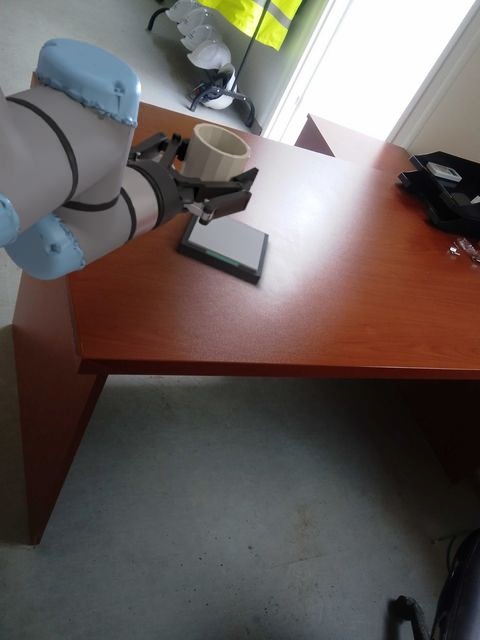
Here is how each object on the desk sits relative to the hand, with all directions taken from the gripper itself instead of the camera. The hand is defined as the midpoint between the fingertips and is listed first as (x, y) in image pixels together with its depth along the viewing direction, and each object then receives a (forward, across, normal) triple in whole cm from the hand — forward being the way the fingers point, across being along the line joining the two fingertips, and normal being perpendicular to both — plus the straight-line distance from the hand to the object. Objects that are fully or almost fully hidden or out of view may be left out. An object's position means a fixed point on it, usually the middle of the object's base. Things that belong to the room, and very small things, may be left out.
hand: (229, 159), depth 69 cm
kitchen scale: (+7, +2, -18) cm, 20 cm away
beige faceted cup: (-5, 0, -6) cm, 8 cm away
